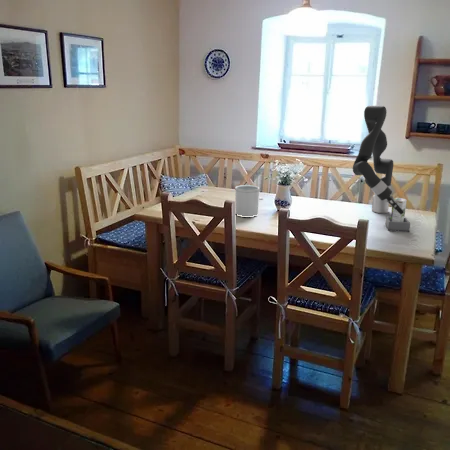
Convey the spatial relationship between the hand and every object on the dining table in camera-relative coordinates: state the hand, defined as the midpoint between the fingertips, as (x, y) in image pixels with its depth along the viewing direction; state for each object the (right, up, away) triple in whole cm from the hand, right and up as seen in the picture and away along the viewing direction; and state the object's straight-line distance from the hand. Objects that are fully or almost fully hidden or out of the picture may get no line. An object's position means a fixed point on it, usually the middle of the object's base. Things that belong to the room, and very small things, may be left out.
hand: (401, 211), depth 259 cm
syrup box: (-1, -7, +3) cm, 8 cm away
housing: (-1, -9, +3) cm, 10 cm away
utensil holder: (-83, -2, +32) cm, 89 cm away
